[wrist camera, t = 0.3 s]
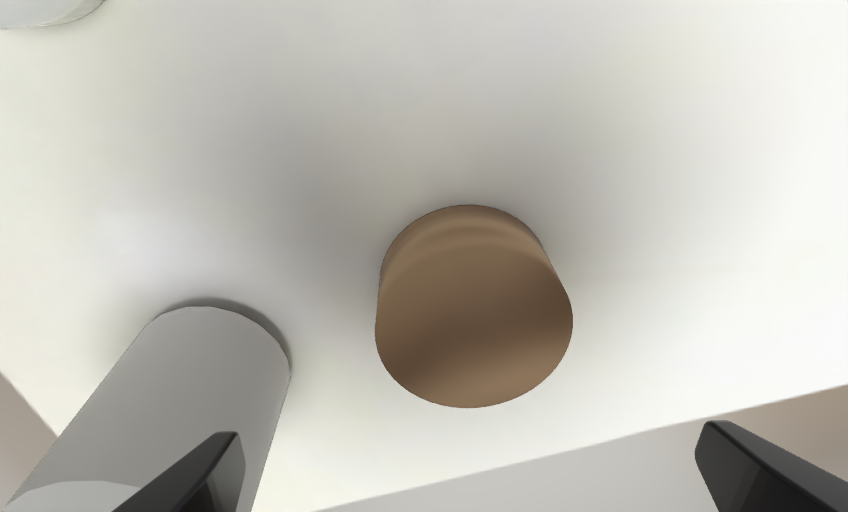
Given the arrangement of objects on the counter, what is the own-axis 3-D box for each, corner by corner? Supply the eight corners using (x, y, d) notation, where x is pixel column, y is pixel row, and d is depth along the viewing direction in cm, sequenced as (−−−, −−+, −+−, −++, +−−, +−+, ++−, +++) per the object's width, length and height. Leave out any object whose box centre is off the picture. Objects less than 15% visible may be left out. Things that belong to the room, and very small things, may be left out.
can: (175, 422, 28) (32, 689, 17) (116, 308, 24) (-109, 554, 14) (310, 403, 28) (249, 664, 17) (269, 284, 24) (159, 518, 13)
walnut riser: (353, 237, 23) (343, 282, 19) (526, 180, 22) (549, 217, 18) (413, 368, 27) (413, 427, 23) (564, 325, 26) (589, 379, 22)
